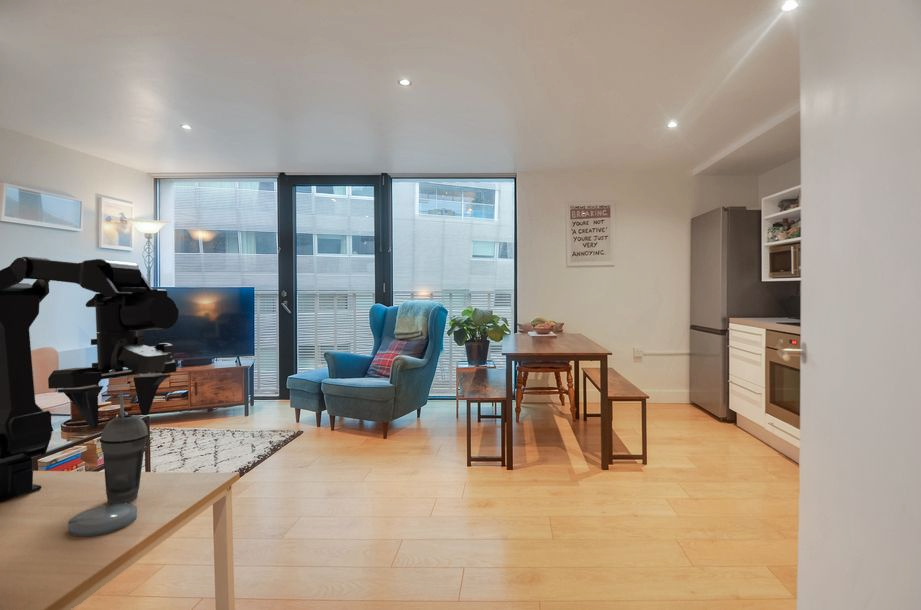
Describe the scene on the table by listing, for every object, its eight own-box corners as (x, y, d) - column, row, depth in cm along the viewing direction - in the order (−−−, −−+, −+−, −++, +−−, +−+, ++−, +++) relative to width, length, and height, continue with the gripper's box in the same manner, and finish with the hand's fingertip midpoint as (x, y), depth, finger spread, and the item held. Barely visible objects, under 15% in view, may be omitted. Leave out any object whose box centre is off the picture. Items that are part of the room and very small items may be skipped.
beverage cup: (120, 510, 79) (124, 397, 79) (86, 505, 81) (90, 394, 81) (156, 493, 86) (159, 389, 86) (124, 489, 88) (128, 386, 88)
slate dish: (53, 531, 72) (53, 523, 72) (110, 506, 80) (110, 499, 80) (95, 540, 69) (96, 532, 69) (149, 514, 78) (150, 507, 78)
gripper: (100, 332, 68) (104, 436, 67) (198, 327, 86) (202, 409, 86) (43, 335, 70) (47, 436, 70) (150, 330, 88) (154, 409, 88)
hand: (121, 421), depth 78 cm, fingers open, 9 cm apart
